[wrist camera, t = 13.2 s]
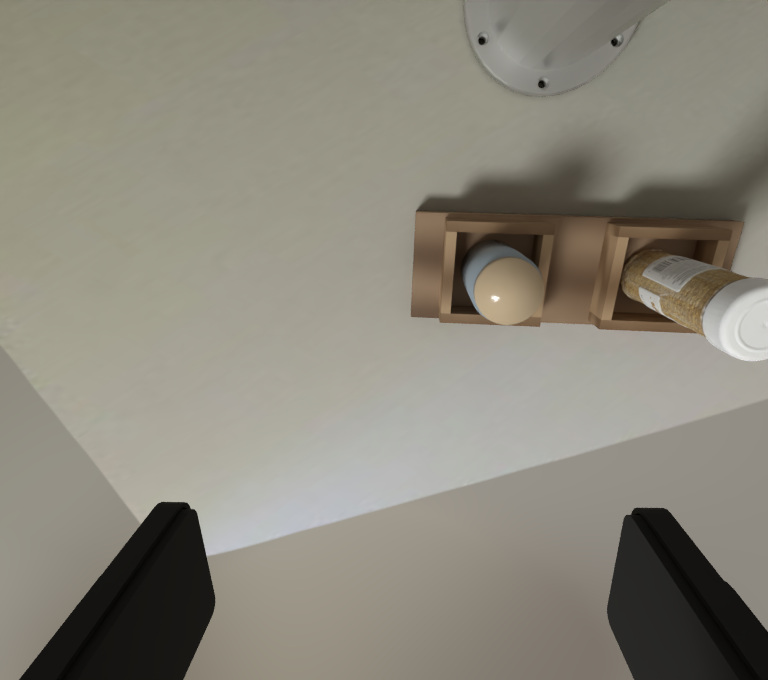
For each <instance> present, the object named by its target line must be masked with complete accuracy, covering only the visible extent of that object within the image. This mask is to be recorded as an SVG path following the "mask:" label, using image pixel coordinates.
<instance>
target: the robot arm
mask: <svg viewBox="0 0 768 680" xmlns="http://www.w3.org/2000/svg"><path fill="white" fill-rule="evenodd" d="M668 1H670V0H464V5H463V9H464V20H465V28H466V32H467V35H468V39H469V43H470V46H471V48H472V50H473V52H474V54H475V56H476V58H477V60H478V62H479V63H480V64H481V66H482V67H483V68H484V70H485V71H486V72H487V74H489V75H490V76H491V77H492V78H493V79H494V80H495V81H496V82H498V83H499V84H500V85H502V86H504V87H506V88H507V89H509V90H511V91H513V92H516V93H520V94H523V95H526V96H538V97H546V96H553V95H560V94H562V93H565V92H568V91H571V90H574V89H576V88H578V87H580V86H582V85H584V84H586V83H588V82H589V81H590V80H592V79H593V78H595V77H596V76H598V75H599V74H601V73H602V72H603V71H604V70H605V69H606V68H607V67H608V66H609V65H610V64H611V63H612V62H613V61H614V60H616V58H617V57H618V56H619V55H620V53H621V52H622V51H623V49H624V48H625V47H626V45H627V44H628V42H629V40H630V39H631V37H632V35H633V33H634V31H635V29H636V27H637V26H638V23H639V21H640V20H642V19H643V18H645V17H646V16H648V15H649V14H651V13H652V12H653V11H655V10H656V9H658V8H659V7H661V6H662V5H664V4H665V3H667V2H668ZM480 38H483V39H484V41H485V43H484V44H483V45H480V44H479V43H478V40H479V39H480ZM611 40H614V41H615V46H614V47H613V46H612V44H611ZM540 81H542V82H543V83H544V87H543V88H539V86H538V83H539V82H540ZM214 607H215V595H214V589H213V585H212V581H211V576H210V571H209V566H208V562H207V557H206V552H205V548H204V543H203V538H202V534H201V529H200V525H199V520H198V515H197V512H196V511H195V510H194V509H191V508H190V506H189V504H188V503H185V502H161V503H158V504H157V505H156V506H155V507H154V509H153V510H152V511H151V512H150V514H149V515H148V516H147V518H146V519H145V520H144V521H143V523H142V524H141V525H140V527H139V528H138V529H137V530H136V532H135V533H134V534H133V535H132V537H131V538H130V539H129V541H128V542H127V543H126V544H125V546H124V547H123V548H122V550H121V551H120V552H119V553H118V555H117V556H116V557H115V558H114V560H113V561H112V562H111V564H110V565H109V566H108V568H107V569H106V570H105V571H104V573H103V574H102V575H101V576H100V577H99V578H98V580H97V581H96V582H95V583H94V585H93V586H92V587H91V589H90V590H89V591H88V593H87V594H86V595H85V596H84V598H83V599H82V600H81V602H80V603H79V604H78V605H77V606H76V608H75V609H74V610H73V612H72V613H71V614H70V615H69V617H68V618H67V619H66V621H65V622H64V623H63V624H62V626H61V627H60V628H59V629H58V631H57V632H56V633H55V635H54V636H53V637H52V639H51V640H50V641H49V642H48V644H47V645H46V646H45V647H44V649H43V650H42V651H41V653H40V654H39V655H38V656H37V658H36V659H35V660H34V662H33V663H32V664H31V665H30V667H29V668H28V669H27V670H26V672H25V673H24V674H23V675H22V677H21V678H20V679H19V680H183V679H184V677H185V674H186V672H187V670H188V668H189V666H190V663H191V661H192V659H193V657H194V655H195V652H196V650H197V648H198V646H199V644H200V641H201V639H202V637H203V635H204V633H205V630H206V628H207V626H208V624H209V622H210V619H211V617H212V615H213V612H214ZM607 614H608V619H609V623H610V626H611V629H612V631H613V633H614V635H615V638H616V640H617V642H618V644H619V646H620V649H621V651H622V653H623V656H624V658H625V660H626V662H627V664H628V667H629V669H630V671H631V673H632V676H633V678H634V680H768V632H767V630H766V629H765V628H764V627H763V626H762V624H761V623H760V621H759V620H758V619H757V618H756V616H755V615H754V614H753V613H752V612H751V610H750V609H749V608H748V607H747V605H746V604H745V603H744V601H743V600H742V599H741V598H740V596H739V595H738V594H737V593H736V591H735V590H734V589H733V588H732V587H731V586H730V585H729V584H728V583H727V582H725V581H724V580H723V579H722V578H721V577H720V575H719V574H718V573H717V572H716V570H715V569H714V568H713V566H712V565H711V564H710V563H709V561H708V560H707V559H706V558H705V556H704V555H703V554H702V553H701V551H700V550H699V549H698V547H697V546H696V545H695V543H694V542H693V541H692V540H691V538H690V537H689V536H688V535H687V533H686V532H685V531H684V529H683V528H682V527H681V526H680V524H679V523H678V522H677V521H676V519H675V518H674V517H673V516H672V514H671V513H670V512H669V511H668V510H667V509H664V508H635V509H634V510H633V511H632V514H631V515H626V516H625V518H624V521H623V526H622V531H621V537H620V542H619V547H618V553H617V558H616V563H615V568H614V574H613V579H612V585H611V590H610V595H609V601H608V607H607Z"/></svg>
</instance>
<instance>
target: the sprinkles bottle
mask: <svg viewBox="0 0 768 680" xmlns="http://www.w3.org/2000/svg"><path fill="white" fill-rule="evenodd" d="M620 284H621V287H622V290H623V291H624V293H625V294H626V295H627V296H628V297H629V298H631V299H633V300H635V301H639V302H641V303H643V304H645V305H646V306H647V307H649V308H650V309H652V310H654V311H656V312H658V313H660V314H662V315H664V316H666V317H667V318H669V319H671V320H673V321H675V322H677V323H678V324H680V325H682V326H684V327H687V328H689V329H691V330H693V331H695V332H696V333H698V334H700V335H702V336H704V337H706V338H707V339H708V341H709V342H710V343H711V344H712V345H713V346H715V347H716V348H718V349H720V350H721V351H723V352H725V353H727V354H729V355H731V356H733V357H735V358H738V359H741V360H746V361H759V360H765V359H768V280H767V279H763V278H749V277H745V276H742V275H739V274H736V273H734V272H732V271H729V270H727V269H723V268H720V267H717V266H713V265H710V264H706V263H703V262H700V261H696V260H692V259H689V258H686V257H682V256H676V255H671V254H670V253H668V252H666V251H665V250H661V249H656V248H654V249H647V250H643V251H640V252H638V253H637V254H635V255H633V256H632V257H631V258H630V259H629V260H628V261H627V262H626V264H625V265H624V267H623V269H622V273H621V277H620Z"/></svg>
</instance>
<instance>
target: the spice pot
mask: <svg viewBox="0 0 768 680" xmlns="http://www.w3.org/2000/svg"><path fill="white" fill-rule="evenodd" d="M460 273H461V279H462V281H463V284H464V286H465V288H466V290H467V292H468V294H469V296H470V299H471V301H472V303H473V305H474V307H475V308H476V310H477V311H478V312H479V313H480V314H481V315H482V316H483V317H485V318H486V319H488V320H490V321H492V322H494V323H497V324H501V325H512V324H517V323H520V322H522V321H524V320H526V319H528V318H529V317H530V316H532V315H533V314H534V313H535V312H536V310H537V309H538V308H539V306H540V304H541V302H542V299H543V295H544V283H543V280H542V276H541V273H540V271H539V269H538V268H537V266H536V265H535V264H534V263H533V262H532V261H531V260H529V259H528V258H527V257H525V256H524V255H523V254H521V253H520V252H518V251H517V250H516V249H514V248H513V247H511V246H510V245H509V244H507V243H505V242H503V241H500V240H485V241H482V242H479V243H477V244H476V245H474V246H473V247H471V248H470V249H469V250H468V252H467V253H466V254H465V256H464V258H463V260H462V263H461V268H460Z"/></svg>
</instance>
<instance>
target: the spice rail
mask: <svg viewBox="0 0 768 680" xmlns="http://www.w3.org/2000/svg"><path fill="white" fill-rule="evenodd" d="M743 225H744V222H740V221H733V220H703V219H670V218H637V217H604V216H571V215H538V214H505V213H472V212H439V211H416V220H415V241H414V262H413V282H412V303H411V317H426V318H439V320H440V322H441V323H465V324H489V325H501V324H497V323H494V322H492V321H490V320H488V319H486V318H485V317H483V316H482V315H481V314H480V313H479V312H478V311H477V310H476V308H475V307H474V305H473V303H472V301H471V299H470V296H469V294H468V292H467V290H466V288H465V286H464V284H463V281H462V279H461V273H460V268H461V263H462V260H463V258H464V256H465V254H466V253H467V252H468V250H469V249H470V248H471V247H473V246H474V245H476V244H477V243H479V242H482V241H485V240H500V241H503V242H505V243H507V244H509V245H510V246H511V247H513V248H514V249H516V250H517V251H518V252H520V253H521V254H523V255H524V256H525V257H527V258H528V259H529V260H531V261H532V262H533V263H534V264H535V265H536V266H537V268H538V269H539V271H540V273H541V276H542V280H543V283H544V295H543V299H542V302H541V304H540V306H539V308H538V309H537V310H536V312H535V313H534V314H533V315H532V316H530V317H529V318H528V319H526V320H524V321H522V322H520V323H517V324H512V326H536V327H540V322H546V323H570V324H594V325H595V326H596V327H597V328H598V329H607V330H631V331H655V332H679V333H696V332H695V331H693V330H691V329H689V328H687V327H684V326H682V325H680V324H678V323H677V322H675V321H673V320H671V319H669V318H667V317H666V316H664V315H662V314H660V313H658V312H656V311H654V310H652V309H650V308H649V307H647V306H646V305H645V304H643V303H641V302H639V301H635V300H633V299H631V298H629V297H628V296H627V295H626V294H625V293H624V291H623V290H622V287H621V284H620V277H621V273H622V269H623V267H624V265H625V264H626V262H627V261H628V260H629V259H630V258H631V257H632V256H633V255H635V254H637V253H638V252H640V251H643V250H647V249H654V248H656V249H661V250H665V251H666V252H668V253H670V254H671V255H676V256H682V257H686V258H689V259H692V260H696V261H700V262H703V263H706V264H710V265H713V266H717V267H720V268H723V269H727V270H729V271H730V268H731V265H732V262H733V258H734V255H735V252H736V249H737V245H738V242H739V239H740V235H741V232H742V229H743Z"/></svg>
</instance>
